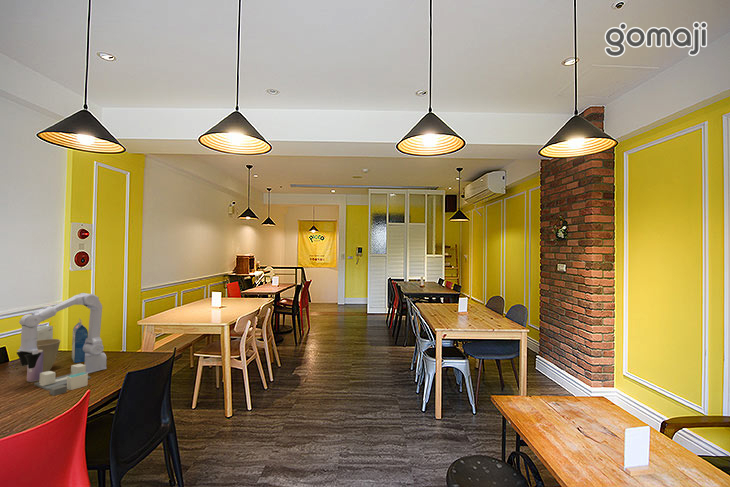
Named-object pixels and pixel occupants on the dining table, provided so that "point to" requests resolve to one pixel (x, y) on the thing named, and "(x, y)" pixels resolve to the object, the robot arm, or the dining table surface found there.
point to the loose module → (77, 381)
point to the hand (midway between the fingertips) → (28, 366)
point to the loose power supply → (58, 390)
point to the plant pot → (48, 351)
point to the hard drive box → (44, 333)
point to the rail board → (50, 381)
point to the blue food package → (79, 342)
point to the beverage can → (35, 369)
